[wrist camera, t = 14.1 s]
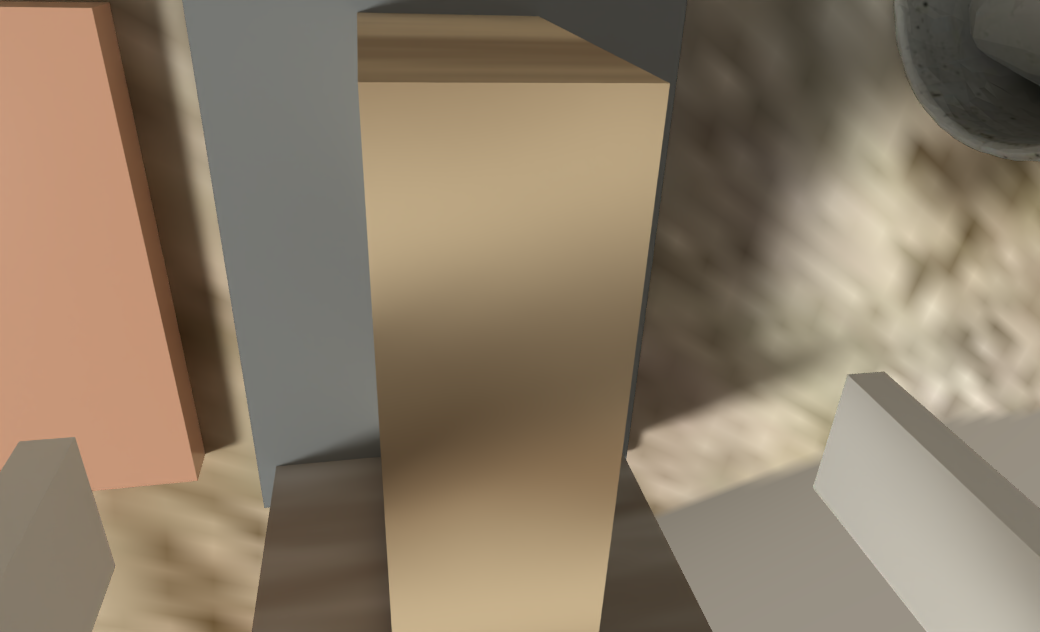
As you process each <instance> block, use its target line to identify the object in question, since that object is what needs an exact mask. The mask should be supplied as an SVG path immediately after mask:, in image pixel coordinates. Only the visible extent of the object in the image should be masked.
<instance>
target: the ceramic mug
mask: <svg viewBox="0 0 1040 632" xmlns="http://www.w3.org/2000/svg"><path fill="white" fill-rule="evenodd" d="M893 6H894V20H895V30H896V41H897V47H898V50H899V53H900V56H901V60H902V63H903V67H904V71H905V74H906V77H907V79H908V82H909V84H910V86H911V88H912V90H913V92H914V94H915V96H916V98H917V99H918V101H919V102H920V104H921V105H922V106H923V108H924V109H925V110H926V111H927V113H928V114H929V115H930V116H931V117H932V118H933V120H934V121H935V122H936V123H937V124H938V125H939V126H940V127H941V128H942V129H944V130H945V131H946V132H947V133H949V134H950V135H951V136H952V137H954V138H955V139H957V140H958V141H960V142H962V143H963V144H965V145H967V146H969V147H971V148H973V149H975V150H977V151H980V152H984V153H988V154H991V155H994V156H997V157H1000V158H1004V159H1010V160H1015V161H1024V160H1030V161H1040V0H894V5H893Z"/></svg>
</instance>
